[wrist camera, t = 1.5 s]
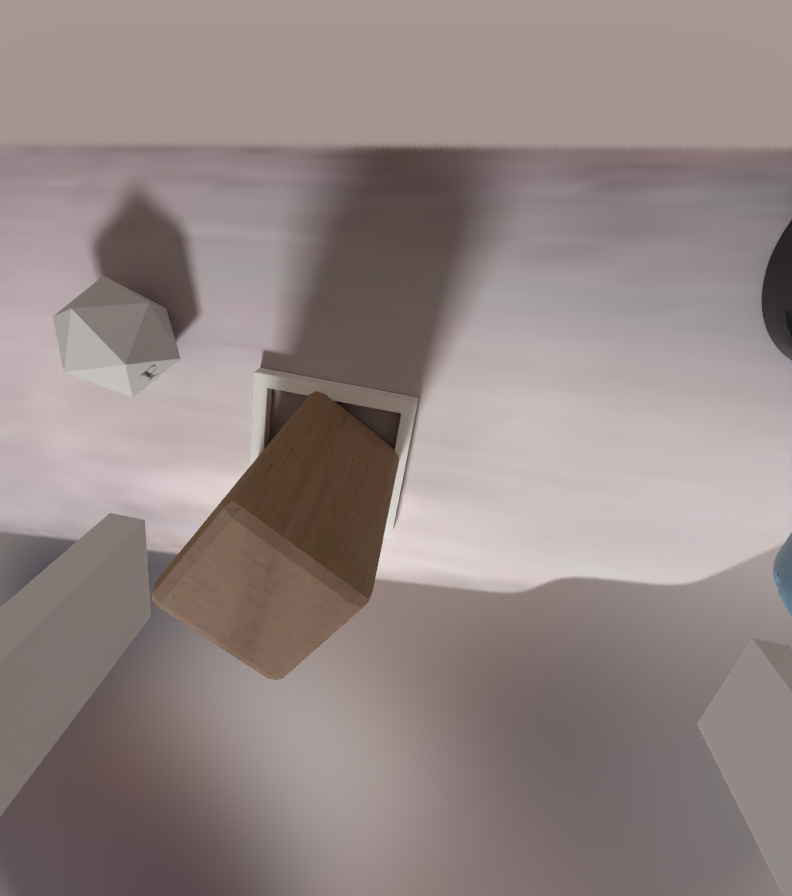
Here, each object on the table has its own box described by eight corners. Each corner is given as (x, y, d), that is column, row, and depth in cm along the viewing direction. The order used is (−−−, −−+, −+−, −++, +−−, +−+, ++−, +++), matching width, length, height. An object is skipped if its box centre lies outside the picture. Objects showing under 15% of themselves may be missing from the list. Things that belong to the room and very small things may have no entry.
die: (117, 377, 46) (129, 432, 39) (27, 309, 40) (24, 361, 33) (185, 321, 46) (209, 367, 40) (107, 244, 40) (119, 283, 33)
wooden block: (405, 452, 45) (377, 604, 27) (339, 519, 49) (276, 692, 31) (319, 382, 43) (226, 494, 25) (257, 457, 47) (137, 603, 29)
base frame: (418, 397, 43) (417, 403, 42) (392, 530, 49) (390, 539, 48) (260, 367, 43) (254, 372, 42) (253, 503, 49) (247, 511, 48)
